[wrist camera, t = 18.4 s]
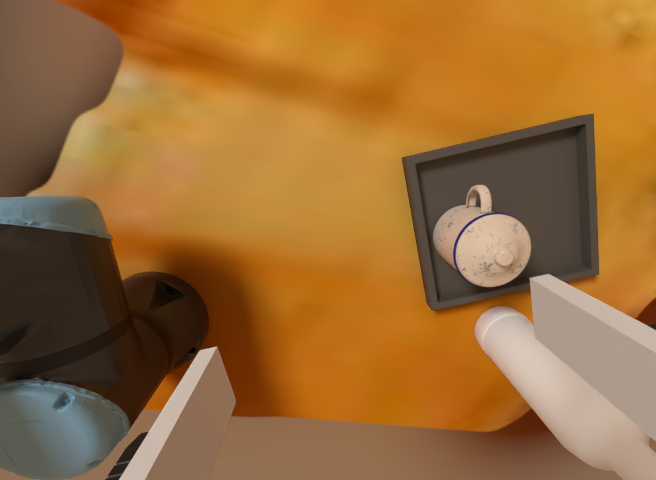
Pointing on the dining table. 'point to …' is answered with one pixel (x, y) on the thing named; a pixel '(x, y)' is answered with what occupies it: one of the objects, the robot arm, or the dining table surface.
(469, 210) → the teacup with lid
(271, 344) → the dining table surface
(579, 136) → the serving tray
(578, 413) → the bottle
